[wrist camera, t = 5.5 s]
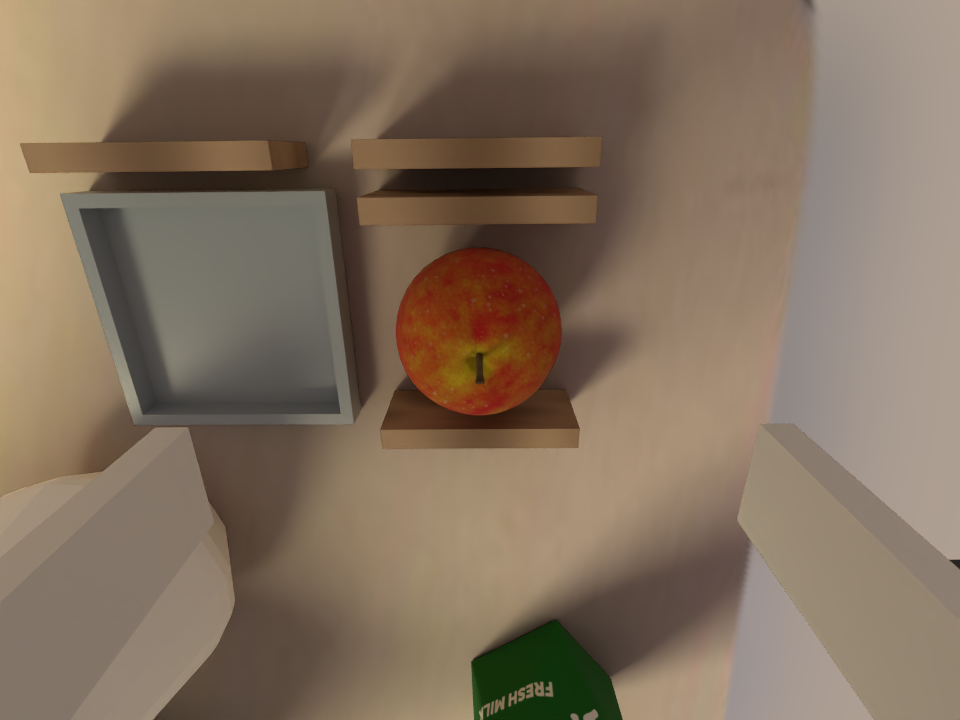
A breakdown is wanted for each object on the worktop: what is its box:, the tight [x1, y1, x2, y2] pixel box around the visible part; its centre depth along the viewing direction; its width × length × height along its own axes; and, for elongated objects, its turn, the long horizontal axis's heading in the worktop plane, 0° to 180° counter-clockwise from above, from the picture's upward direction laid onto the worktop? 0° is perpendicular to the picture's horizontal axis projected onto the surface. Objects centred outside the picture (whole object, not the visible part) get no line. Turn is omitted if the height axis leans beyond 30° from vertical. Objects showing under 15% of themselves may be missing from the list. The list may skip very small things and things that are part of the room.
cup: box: [0, 472, 235, 720], centre depth 24 cm, size 13×13×14 cm
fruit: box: [396, 248, 562, 415], centre depth 21 cm, size 7×7×8 cm
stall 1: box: [20, 141, 308, 173], centre depth 18 cm, size 9×11×4 cm
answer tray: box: [60, 188, 361, 425], centre depth 24 cm, size 11×11×2 cm
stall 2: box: [351, 137, 602, 169], centre depth 18 cm, size 9×11×4 cm
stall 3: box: [357, 188, 598, 449], centre depth 22 cm, size 9×11×4 cm
